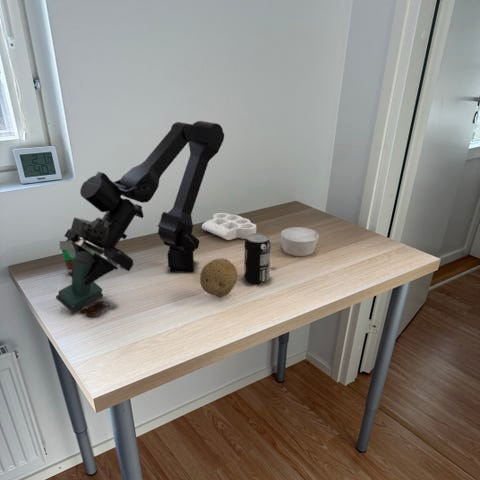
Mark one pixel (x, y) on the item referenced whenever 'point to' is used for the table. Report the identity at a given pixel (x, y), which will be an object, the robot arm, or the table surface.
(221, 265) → the natural sponge
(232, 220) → the white egg tray
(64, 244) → the food container
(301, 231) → the ramekin
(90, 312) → the coffee spill
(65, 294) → the wiper
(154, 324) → the table surface
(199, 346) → the table surface
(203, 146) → the robot arm
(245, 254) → the beverage can
